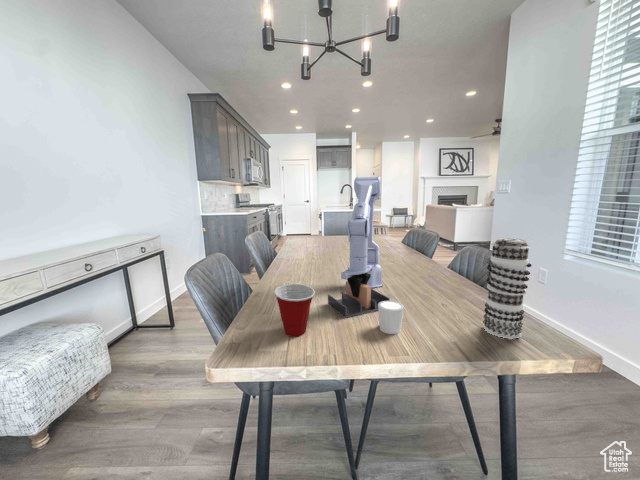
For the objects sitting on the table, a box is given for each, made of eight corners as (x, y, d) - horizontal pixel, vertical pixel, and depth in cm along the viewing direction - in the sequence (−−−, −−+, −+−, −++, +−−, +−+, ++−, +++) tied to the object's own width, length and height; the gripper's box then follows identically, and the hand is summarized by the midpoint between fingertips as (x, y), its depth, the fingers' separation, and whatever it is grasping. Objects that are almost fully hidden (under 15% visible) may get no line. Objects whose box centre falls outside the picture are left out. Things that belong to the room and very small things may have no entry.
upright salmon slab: (349, 299, 91) (349, 280, 89) (370, 306, 84) (370, 286, 83) (345, 300, 89) (345, 281, 88) (366, 308, 83) (367, 287, 82)
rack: (368, 296, 96) (368, 287, 95) (389, 308, 85) (389, 298, 84) (328, 303, 89) (327, 294, 88) (345, 318, 78) (345, 307, 77)
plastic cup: (300, 347, 63) (298, 300, 61) (267, 335, 69) (265, 292, 67) (323, 328, 72) (322, 287, 70) (292, 319, 78) (291, 280, 76)
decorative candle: (496, 320, 75) (504, 235, 71) (531, 336, 67) (543, 240, 63) (473, 326, 72) (480, 238, 68) (507, 343, 63) (518, 243, 60)
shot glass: (403, 325, 73) (404, 301, 72) (402, 337, 67) (403, 311, 66) (378, 321, 76) (379, 298, 74) (375, 333, 69) (376, 308, 68)
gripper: (362, 250, 92) (362, 287, 94) (334, 257, 82) (334, 297, 84) (379, 253, 87) (378, 292, 89) (351, 261, 77) (350, 304, 79)
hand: (358, 295), depth 86 cm, fingers closed on upright salmon slab, 2 cm apart
